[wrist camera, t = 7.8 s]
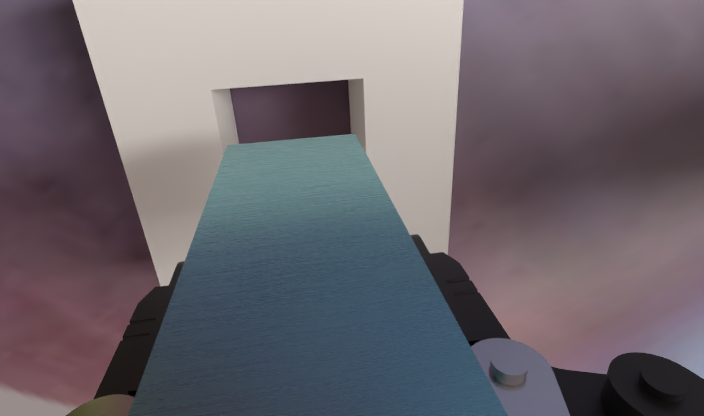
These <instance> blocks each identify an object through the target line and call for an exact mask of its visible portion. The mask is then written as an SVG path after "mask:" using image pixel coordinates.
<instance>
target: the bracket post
mask: <svg viewBox="0 0 704 416" xmlns="http://www.w3.org/2000/svg"><path fill="white" fill-rule="evenodd" d="M128 416H508V415H507V413H506V411H505V409H504V408H503V406H502V404H501V402H500V400H499V398H498V397H497V395H496V393H495V391H494V389H493V387H492V385H491V384H490V382H489V380H488V378H487V376H486V374H485V373H484V371H483V369H482V367H481V365H480V363H479V361H478V360H477V358H476V356H475V354H474V352H473V350H472V348H471V347H470V345H469V343H468V341H467V339H466V337H465V336H464V334H463V332H462V330H461V328H460V326H459V324H458V323H457V321H456V319H455V317H454V315H453V313H452V312H451V310H450V308H449V306H448V304H447V302H446V300H445V299H444V297H443V295H442V293H441V291H440V289H439V288H438V286H437V284H436V282H435V280H434V278H433V276H432V275H431V273H430V271H429V269H428V267H427V265H426V263H425V262H424V260H423V258H422V256H421V254H420V252H419V251H418V249H417V247H416V245H415V243H414V241H413V239H412V238H411V236H410V234H409V232H408V230H407V228H406V227H405V225H404V223H403V221H402V219H401V217H400V215H399V214H398V212H397V210H396V208H395V206H394V204H393V203H392V201H391V199H390V197H389V195H388V193H387V191H386V190H385V188H384V186H383V184H382V182H381V180H380V178H379V177H378V175H377V173H376V171H375V169H374V167H373V166H372V164H371V162H370V160H369V158H368V156H367V154H366V153H365V151H364V149H363V147H362V145H361V143H360V142H359V140H358V138H357V136H356V134H347V135H335V136H324V137H313V138H302V139H290V140H279V141H268V142H257V143H245V144H234V145H227V147H226V150H225V152H224V155H223V158H222V161H221V163H220V166H219V169H218V172H217V174H216V177H215V180H214V183H213V185H212V188H211V191H210V193H209V196H208V199H207V202H206V204H205V207H204V210H203V213H202V215H201V218H200V221H199V223H198V226H197V229H196V232H195V234H194V237H193V240H192V243H191V245H190V248H189V251H188V253H187V256H186V259H185V262H184V264H183V267H182V270H181V273H180V275H179V278H178V281H177V283H176V286H175V289H174V292H173V294H172V297H171V300H170V303H169V305H168V308H167V311H166V313H165V316H164V319H163V322H162V324H161V327H160V330H159V333H158V335H157V338H156V341H155V344H154V346H153V349H152V352H151V354H150V357H149V360H148V363H147V365H146V368H145V371H144V374H143V376H142V379H141V382H140V384H139V387H138V390H137V393H136V395H135V398H134V401H133V404H132V406H131V409H130V412H129V414H128Z"/></svg>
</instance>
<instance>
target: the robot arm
mask: <svg viewBox="0 0 704 416" xmlns="http://www.w3.org/2000/svg"><path fill="white" fill-rule="evenodd" d="M410 236H411V238H412V239H413V241H414V243H415V245H416V247H417V249H418V251H419V252H420V254H421V256H422V258H423V260H424V262H425V263H426V265H427V267H428V269H429V271H430V273H431V275H432V276H433V278H434V280H435V282H436V284H437V286H438V288H439V289H440V291H441V293H442V295H443V297H444V299H445V300H446V302H447V304H448V306H449V308H450V310H451V312H452V313H453V315H454V317H455V319H456V321H457V323H458V324H459V326H460V328H461V330H462V332H463V334H464V336H465V337H466V339H467V341H468V343H469V345H470V347H471V348H472V350H473V352H474V354H475V356H476V358H477V360H478V361H479V363H480V365H481V367H482V369H483V371H484V373H485V374H486V376H487V378H488V380H489V382H490V384H491V385H492V387H493V389H494V391H495V393H496V395H497V397H498V398H499V400H500V402H501V404H502V406H503V408H504V409H505V411H506V413H507V415H508V416H704V379H702V378H701V377H699V376H698V375H696V374H694V373H693V372H691V371H690V370H688V369H686V368H685V367H683V366H681V365H679V364H677V363H675V362H673V361H671V360H668V359H666V358H663V357H660V356H656V355H653V354H647V353H637V352H635V353H626V354H622V355H620V356H617V357H616V358H615V359H613V360H612V362H611V363H610V365H609V369H608V372H607V375H606V374H597V373H589V372H580V371H571V370H564V369H558V368H555V367H551V366H550V364H549V363H548V362H547V360H546V359H545V358H544V357H543V356H542V355H541V354H540V353H538V352H537V351H536V350H534V349H533V348H531V347H529V346H527V345H525V344H523V343H521V342H518V341H515V340H511V339H510V338H509V336H508V335H507V333H506V332H505V330H504V329H503V327H502V326H501V324H500V323H499V321H498V320H497V318H496V317H495V315H494V314H493V312H492V311H491V309H490V308H489V306H488V305H487V303H486V302H485V300H484V299H483V297H482V296H481V294H480V293H478V292H477V288H476V287H475V285H474V284H473V282H472V281H470V280H469V276H468V275H467V273H466V272H465V271H464V269H463V268H462V266H461V265H460V263H459V262H457V261H456V260H454V259H453V258H451V257H450V256H448V255H447V254H445V253H444V252H439V253H431V254H430V253H429V251H428V249H427V247H426V246H425V244H424V242H423V241H422V239H421V237H420V236H419V235H418V234H414V235H410ZM184 262H185V261H182V262H178V264H177V266H176V268H175V271H174V273H173V276H172V278H171V281H170V284H169V285H168V286H160V287H155V288H154V289H153V290H152V291H151V292H150V293H149V294H148V295H146V296H145V297H144V298H143V299H142V300H141V301H140V302H139V303H138V305H137V307H136V309H135V311H134V313H133V316H132V318H131V320H130V325H128V326H127V328H126V331H125V333H124V335H123V341H120V343H119V346H118V348H117V350H116V352H115V354H114V356H113V358H112V361H111V363H110V365H109V367H108V369H107V371H106V373H105V376H104V378H103V380H102V382H101V384H100V386H99V388H98V391H97V393H96V395H95V397H94V399H93V400H91V401H89V402H87V403H85V404H83V405H81V406H79V407H78V408H76V409H75V410H73V411H72V412H70V413H69V414H68V415H66V416H128V414H129V412H130V409H131V406H132V404H133V401H134V398H135V395H136V393H137V390H138V387H139V384H140V382H141V379H142V376H143V374H144V371H145V368H146V365H147V363H148V360H149V357H150V354H151V352H152V349H153V346H154V344H155V341H156V338H157V335H158V333H159V330H160V327H161V324H162V322H163V319H164V316H165V313H166V311H167V308H168V305H169V303H170V300H171V297H172V294H173V292H174V289H175V286H176V283H177V281H178V278H179V275H180V273H181V270H182V267H183V264H184Z"/></svg>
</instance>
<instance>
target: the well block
mask: <svg viewBox="0 0 704 416" xmlns="http://www.w3.org/2000/svg"><path fill="white" fill-rule="evenodd" d="M72 1H73V4H74V7H75V10H76V14H77V17H78V20H79V23H80V27H81V30H82V33H83V36H84V39H85V43H86V46H87V49H88V52H89V56H90V59H91V62H92V65H93V69H94V72H95V75H96V78H97V82H98V85H99V88H100V91H101V95H102V98H103V101H104V104H105V108H106V111H107V114H108V117H109V121H110V124H111V127H112V130H113V134H114V137H115V140H116V143H117V147H118V150H119V153H120V156H121V160H122V163H123V166H124V169H125V173H126V176H127V179H128V182H129V186H130V189H131V192H132V195H133V199H134V202H135V205H136V208H137V211H138V215H139V218H140V221H141V224H142V228H143V231H144V234H145V237H146V241H147V244H148V247H149V250H150V254H151V257H152V260H153V263H154V267H155V270H156V273H157V276H158V280H159V283H160V286H168V285H169V284H170V281H171V278H172V276H173V273H174V271H175V268H176V266H177V264H178V262H182V261H185V259H186V256H187V253H188V251H189V248H190V245H191V243H192V240H193V237H194V234H195V232H196V229H197V226H198V223H199V221H200V218H201V215H202V213H203V210H204V207H205V204H206V202H207V199H208V196H209V193H210V191H211V188H212V185H213V183H214V180H215V177H216V174H217V172H218V169H219V166H220V163H221V161H222V158H223V155H224V152H225V150H226V147H227V145H234V144H239V140H238V134H237V128H236V122H235V117H234V111H233V105H232V99H231V94H230V88H242V87H255V86H268V85H282V84H295V83H308V82H322V81H335V80H348V87H349V107H350V127H351V134H356V136H357V138H358V140H359V142H360V143H361V145H362V147H363V149H364V151H365V153H366V154H367V156H368V158H369V160H370V162H371V164H372V166H373V167H374V169H375V171H376V173H377V175H378V177H379V178H380V180H381V182H382V184H383V186H384V188H385V190H386V191H387V193H388V195H389V197H390V199H391V201H392V203H393V204H394V206H395V208H396V210H397V212H398V214H399V215H400V217H401V219H402V221H403V223H404V225H405V227H406V228H407V230H408V232H409V234H410V235H414V234H418V235H419V236H420V237H421V239H422V241H423V242H424V244H425V246H426V247H427V249H428V251H429V253H430V254H431V253H439V252H444V253H445V254H447V255H448V242H449V226H450V210H451V194H452V178H453V162H454V146H455V129H456V113H457V97H458V81H459V65H460V49H461V33H462V16H463V0H72Z"/></svg>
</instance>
